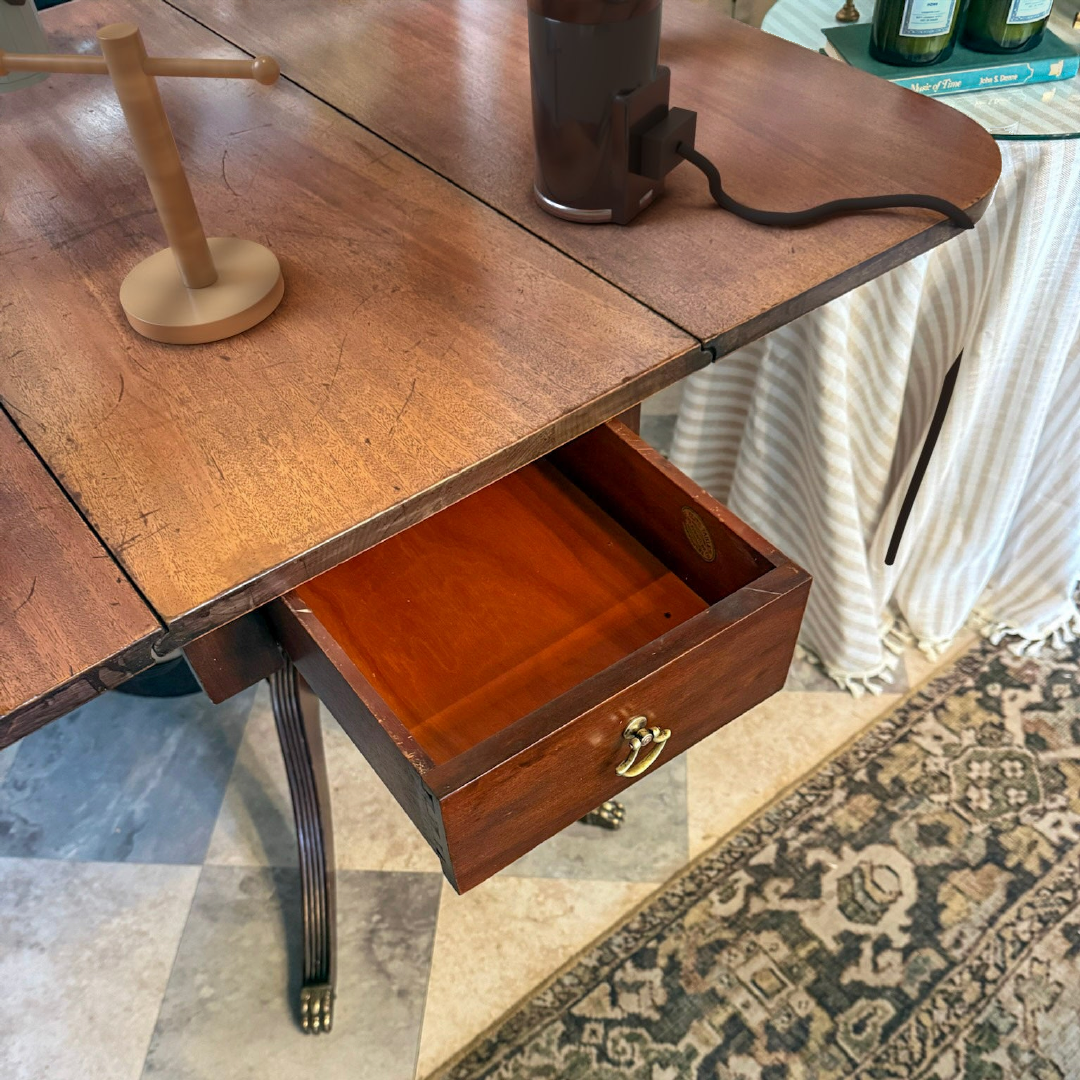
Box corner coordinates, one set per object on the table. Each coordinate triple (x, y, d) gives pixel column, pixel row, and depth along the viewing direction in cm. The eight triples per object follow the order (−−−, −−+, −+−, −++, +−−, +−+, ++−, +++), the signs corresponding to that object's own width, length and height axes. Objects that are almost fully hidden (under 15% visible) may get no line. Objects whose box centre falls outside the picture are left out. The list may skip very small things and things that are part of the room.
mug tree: (354, 261, 73) (302, -3, 60) (307, 353, 66) (235, 75, 53) (118, 248, 76) (17, -8, 62) (47, 335, 68) (-84, 66, 55)
